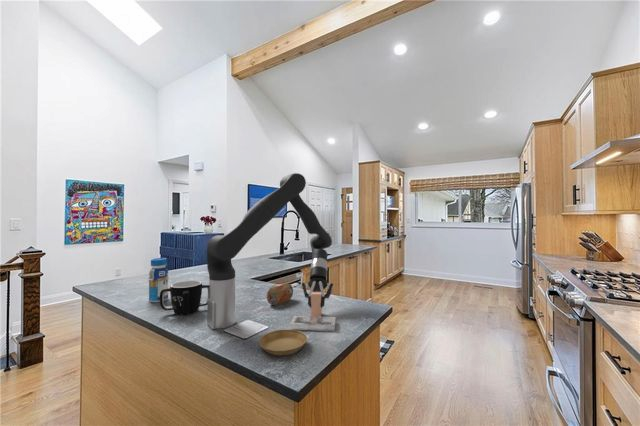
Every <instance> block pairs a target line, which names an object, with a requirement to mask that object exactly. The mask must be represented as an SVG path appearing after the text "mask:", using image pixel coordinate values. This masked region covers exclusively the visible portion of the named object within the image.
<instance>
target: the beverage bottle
mask: <svg viewBox="0 0 640 426" xmlns="http://www.w3.org/2000/svg"><path fill="white" fill-rule="evenodd" d="M167 264H168V260H167V258H166V257H159V258H158V257H156V258H151V259H150V266H151V268H150V270H149V271H148V275H149V277H148V301H149V302H151V303H160V292H161V291H162V290H163V289H168V288H169V278H170V276H169V270H168V268H167ZM168 299H169V292H164V300H165V301H167V300H168Z"/></svg>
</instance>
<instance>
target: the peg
mask: <svg viewBox="0 0 640 426" xmlns="http://www.w3.org/2000/svg"><path fill="white" fill-rule="evenodd" d="M321 293H322V292H312V293H311V307H310V316H319V317H322V315H323V311H322V310H323V308H321V297H322V295H321Z"/></svg>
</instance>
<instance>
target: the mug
mask: <svg viewBox="0 0 640 426" xmlns="http://www.w3.org/2000/svg"><path fill="white" fill-rule="evenodd" d="M169 286H170V287H168V289H163V290H162V291H161V292H160V302H159V304H160V307H161V309H162V310H163V311H172V310H173V311H172V312H173V313H174V314H175V315H177V316H185V315H186V316H187V315H192V314H194V313H196V312H198V310H200V309H199V308H200V307H205V306H207V300H208V299H209V284H203V282H202V281H200V280H183V281H178V282H174V283H172V284H170V285H169ZM203 289H207V299H206V301H205V302H201V301H202V300H201V299H202V295H203V294H202V293H203V292H202V291H203ZM164 292H168V293H169V292H170V301H171V306H166V304H165V301H164Z"/></svg>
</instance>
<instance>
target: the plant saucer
mask: <svg viewBox="0 0 640 426" xmlns="http://www.w3.org/2000/svg"><path fill="white" fill-rule="evenodd" d="M307 340H308V337H307V335H306V334H305V333H303V331H301V330H290V329H277V330H273V331H270V332H267V333H265V334H264V335H262V336H260V338H259V339H258V344H259V345H260V347H261V348H262V350H264V351H265V352H267V354H270V355H272V356H273V355H274V356H281V357H282V356H289V355H292V354H295V353H297V352H298V351H300V350H301V349H302V348H303V347H304V346H305V345H306V343H307Z"/></svg>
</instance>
